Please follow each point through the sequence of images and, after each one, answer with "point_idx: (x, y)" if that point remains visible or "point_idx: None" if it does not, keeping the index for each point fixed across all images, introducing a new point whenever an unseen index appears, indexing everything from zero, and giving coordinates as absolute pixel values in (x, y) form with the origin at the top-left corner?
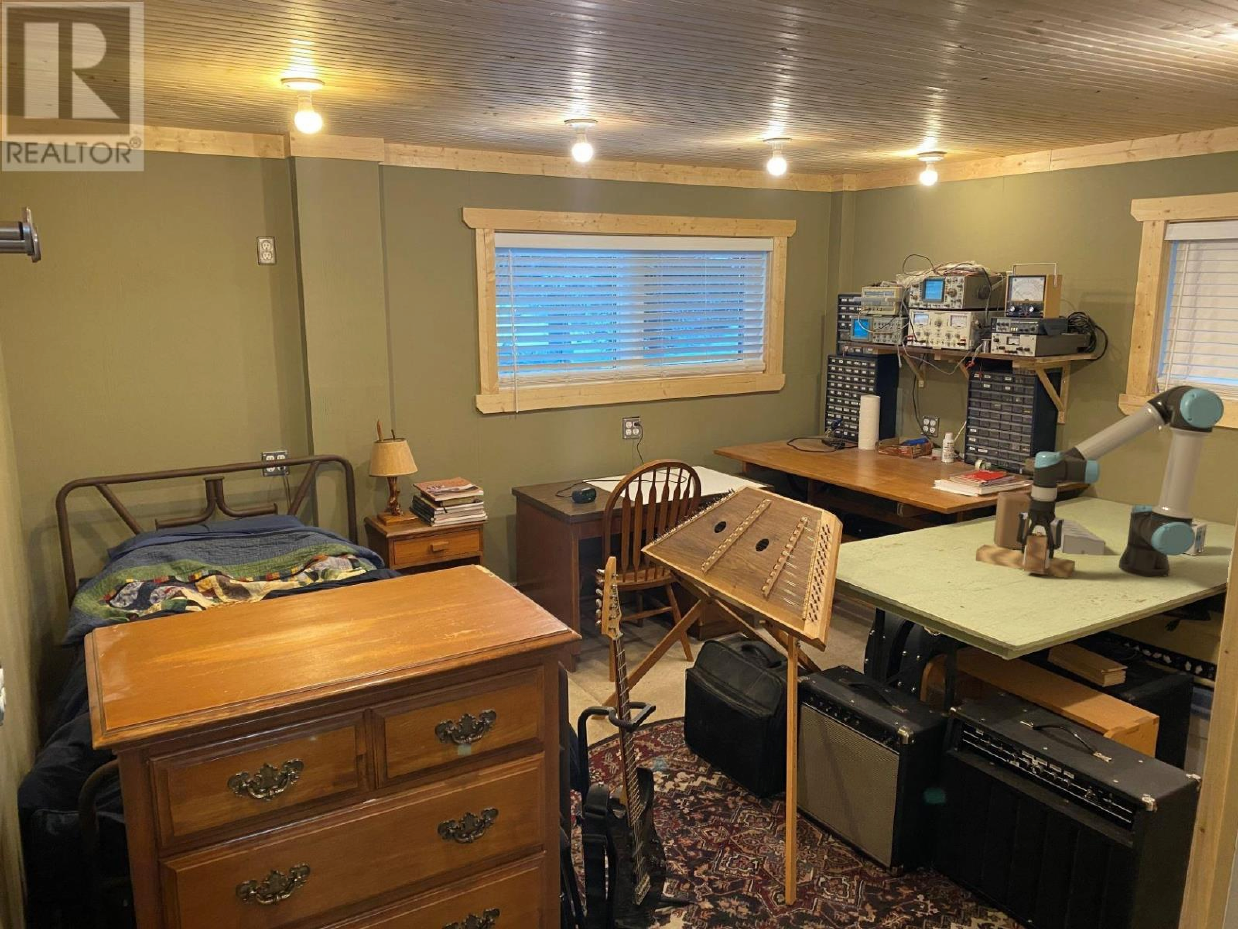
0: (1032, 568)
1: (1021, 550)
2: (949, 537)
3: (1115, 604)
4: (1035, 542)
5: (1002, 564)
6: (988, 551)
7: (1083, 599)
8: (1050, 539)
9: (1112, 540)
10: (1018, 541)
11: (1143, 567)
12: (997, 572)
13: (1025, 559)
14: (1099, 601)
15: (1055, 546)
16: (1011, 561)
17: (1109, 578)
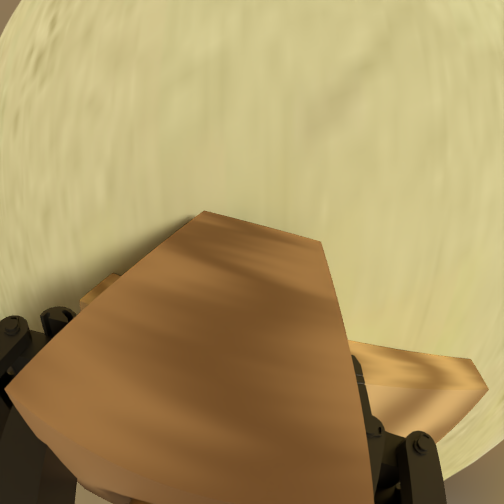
0: (266, 236)
1: (362, 374)
2: None
3: (14, 48)
4: (214, 410)
5: (397, 353)
6: (456, 396)
7: (72, 13)
8: (18, 417)
9: None
10: (417, 436)
11: (10, 367)
12: (442, 230)
13: (326, 276)
14: (37, 36)
15: (20, 337)
16: (369, 364)
17: (39, 320)
